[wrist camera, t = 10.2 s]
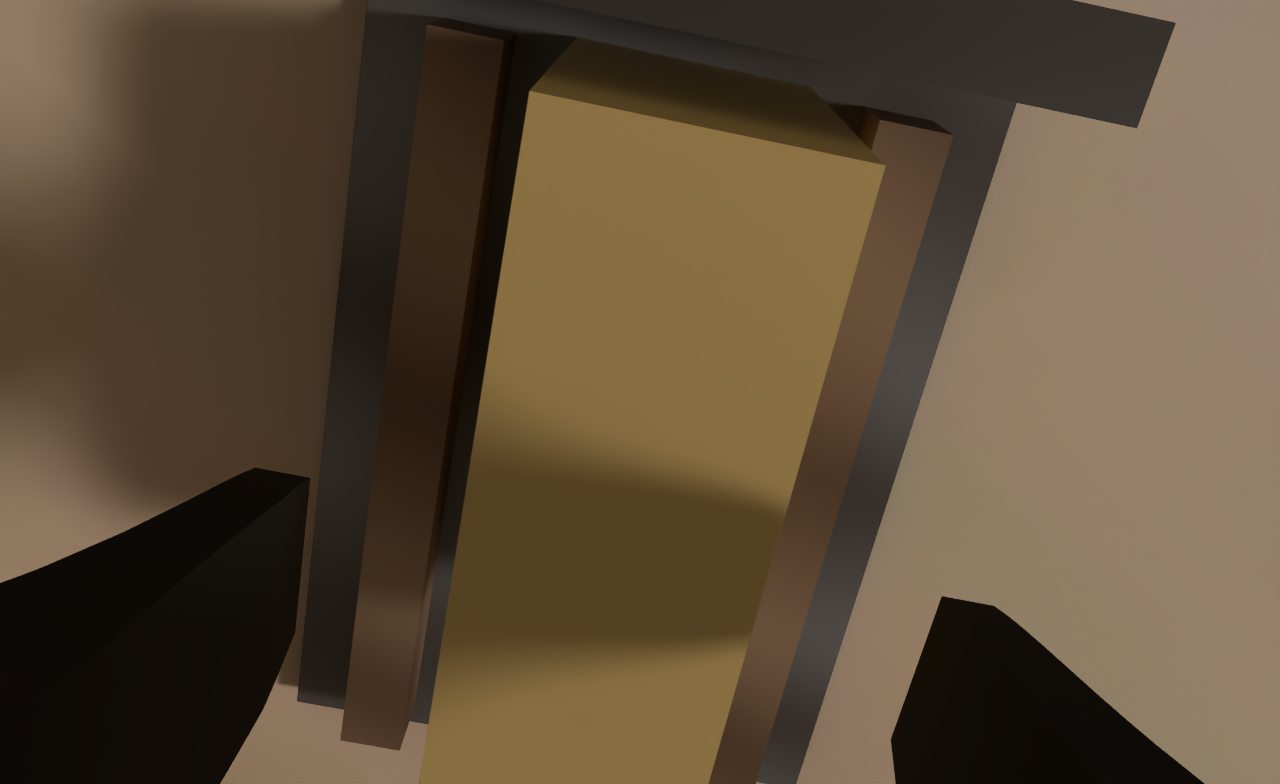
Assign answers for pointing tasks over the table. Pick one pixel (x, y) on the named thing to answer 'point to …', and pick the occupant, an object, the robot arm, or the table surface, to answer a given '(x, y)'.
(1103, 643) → the table surface
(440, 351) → the shelf
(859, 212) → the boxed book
